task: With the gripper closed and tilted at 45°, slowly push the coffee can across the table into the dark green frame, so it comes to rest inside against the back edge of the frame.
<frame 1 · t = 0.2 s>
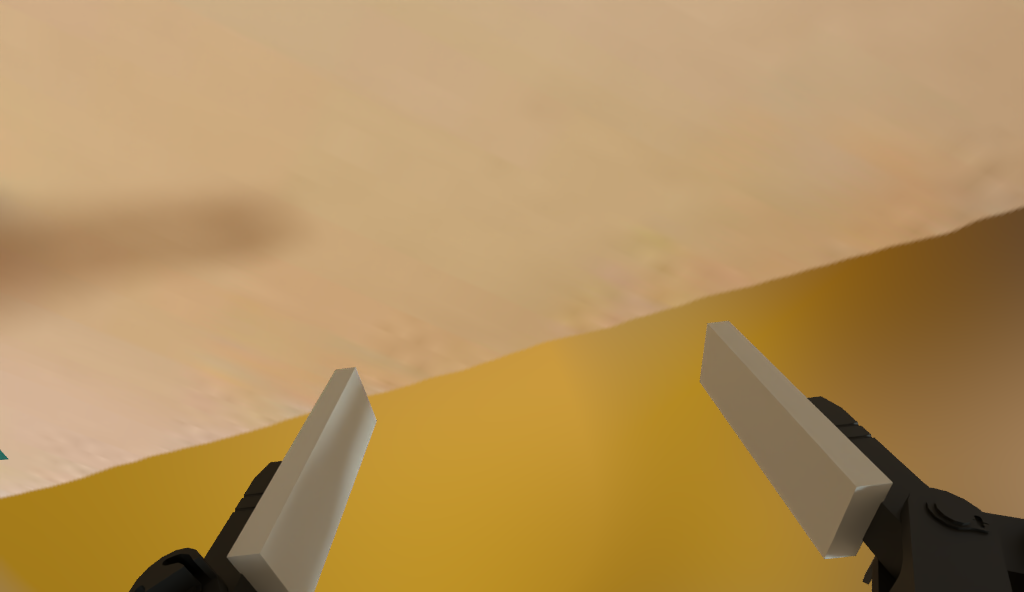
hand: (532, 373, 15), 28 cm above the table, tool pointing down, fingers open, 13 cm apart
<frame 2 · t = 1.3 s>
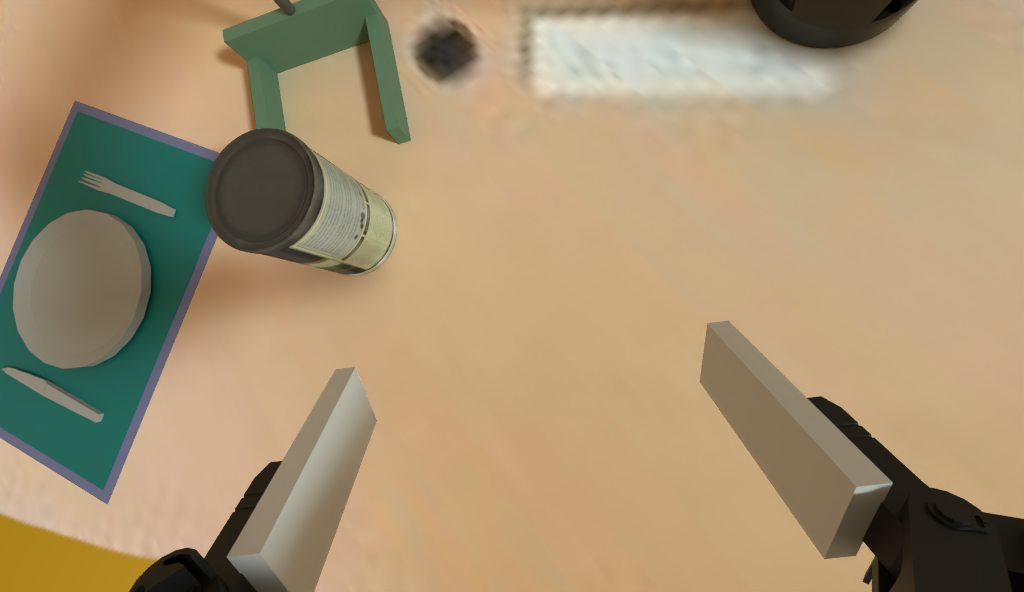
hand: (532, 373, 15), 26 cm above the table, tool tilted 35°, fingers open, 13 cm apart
green frame: (335, 107, 47), on the table
place mat: (98, 289, 52), on the table
coffee can: (357, 233, 45), on the table
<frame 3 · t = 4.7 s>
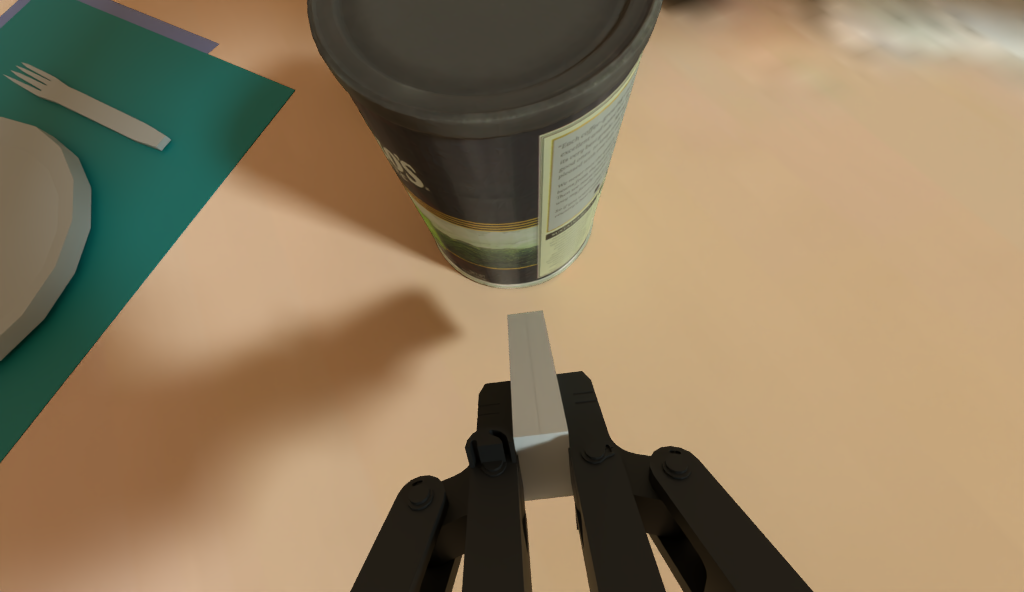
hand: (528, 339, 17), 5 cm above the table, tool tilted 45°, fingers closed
coffee can: (513, 214, 25), on the table
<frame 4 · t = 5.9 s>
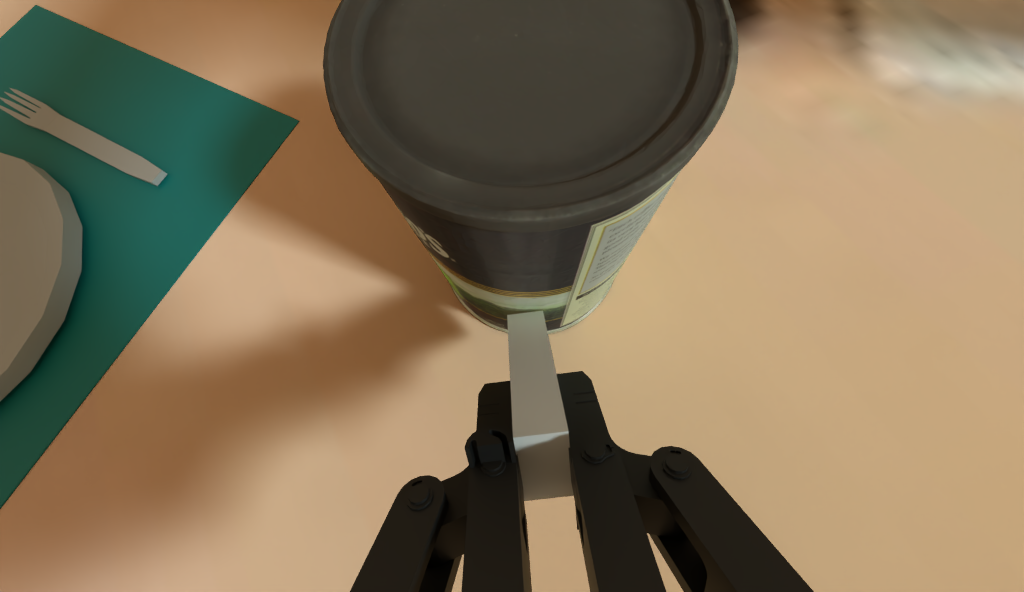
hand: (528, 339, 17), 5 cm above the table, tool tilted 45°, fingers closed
coffee can: (531, 253, 23), on the table, touching gripper
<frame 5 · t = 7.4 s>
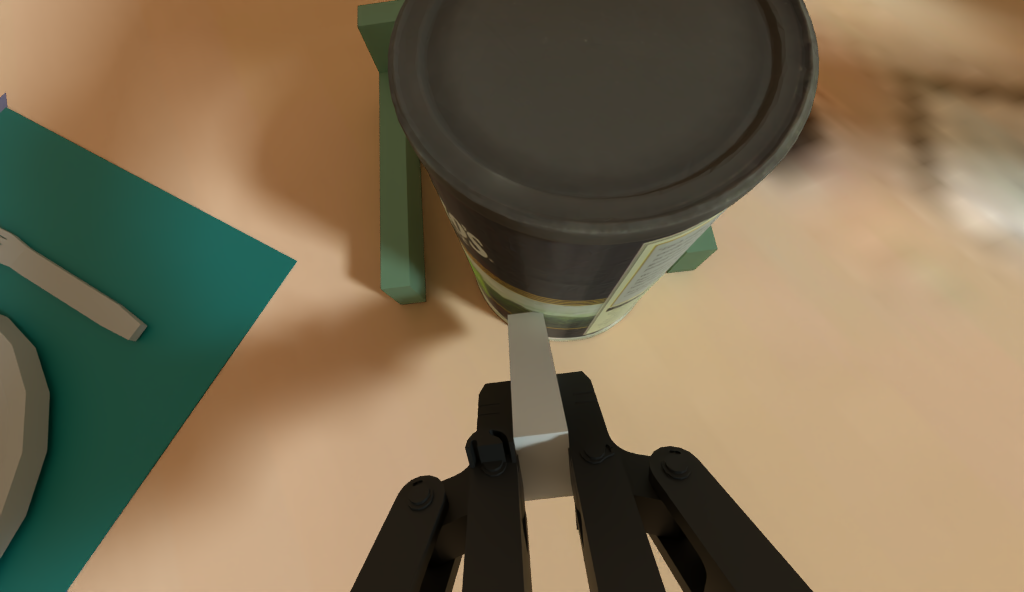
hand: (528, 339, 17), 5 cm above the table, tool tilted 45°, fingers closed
green frame: (531, 182, 24), on the table
coffee can: (560, 258, 23), on the table, touching gripper
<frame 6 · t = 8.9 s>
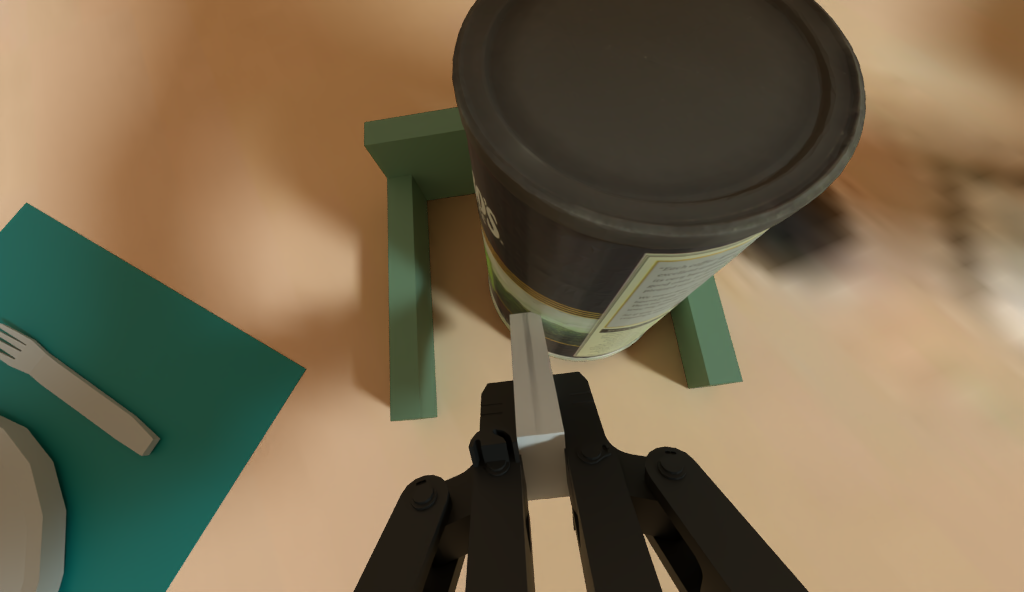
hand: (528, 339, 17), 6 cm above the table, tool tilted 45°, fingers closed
green frame: (543, 284, 24), on the table
coffee can: (574, 278, 23), on the table, touching green frame, gripper
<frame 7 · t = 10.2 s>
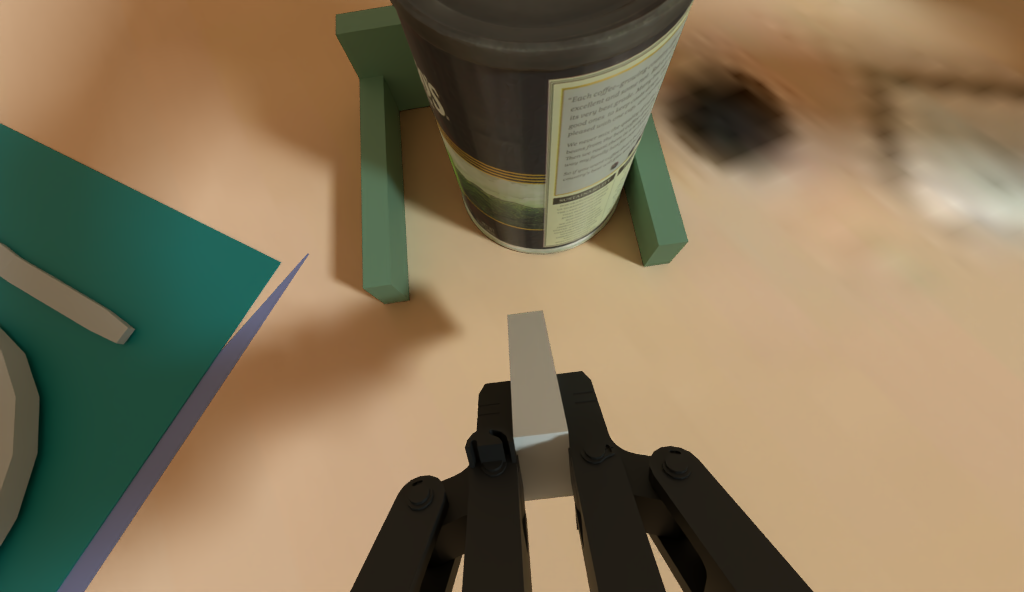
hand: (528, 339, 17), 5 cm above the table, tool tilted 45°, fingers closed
green frame: (510, 181, 25), on the table
coffee can: (541, 183, 25), on the table
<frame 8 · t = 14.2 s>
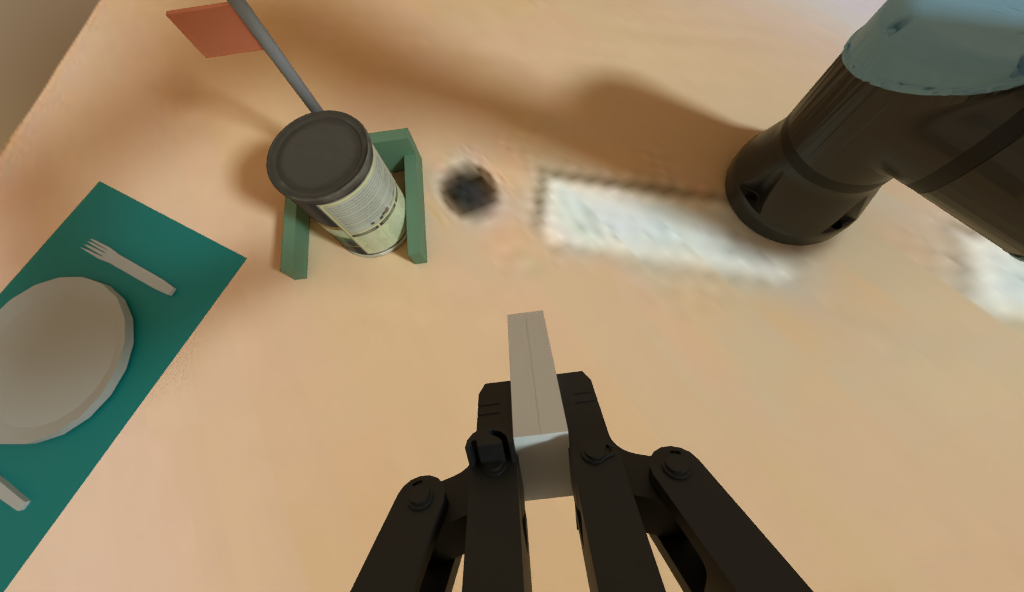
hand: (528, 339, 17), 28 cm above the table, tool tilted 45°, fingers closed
green frame: (361, 221, 51), on the table
place mat: (66, 358, 49), on the table
coffee can: (376, 223, 51), on the table
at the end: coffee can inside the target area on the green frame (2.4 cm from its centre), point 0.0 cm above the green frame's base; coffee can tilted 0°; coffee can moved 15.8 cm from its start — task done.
